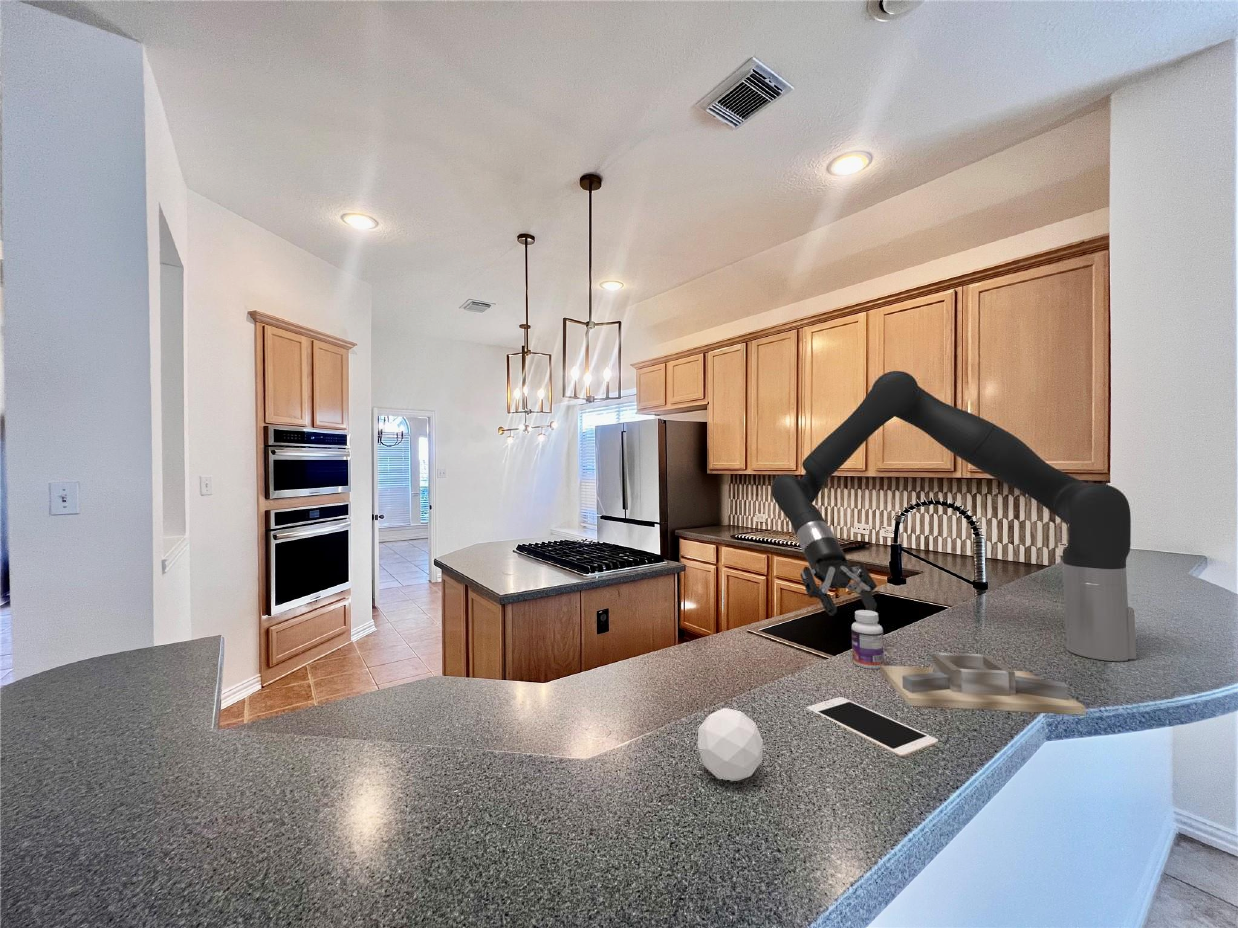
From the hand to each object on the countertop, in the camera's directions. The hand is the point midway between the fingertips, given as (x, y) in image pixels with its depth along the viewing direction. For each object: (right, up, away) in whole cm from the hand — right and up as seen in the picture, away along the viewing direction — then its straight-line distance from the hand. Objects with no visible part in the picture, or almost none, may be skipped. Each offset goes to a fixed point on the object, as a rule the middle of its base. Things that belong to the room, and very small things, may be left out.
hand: (853, 612), depth 103 cm
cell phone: (-10, -9, -28) cm, 31 cm away
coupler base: (+12, -8, -17) cm, 22 cm away
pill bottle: (+1, -9, -4) cm, 10 cm away
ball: (-33, -9, -40) cm, 52 cm away
